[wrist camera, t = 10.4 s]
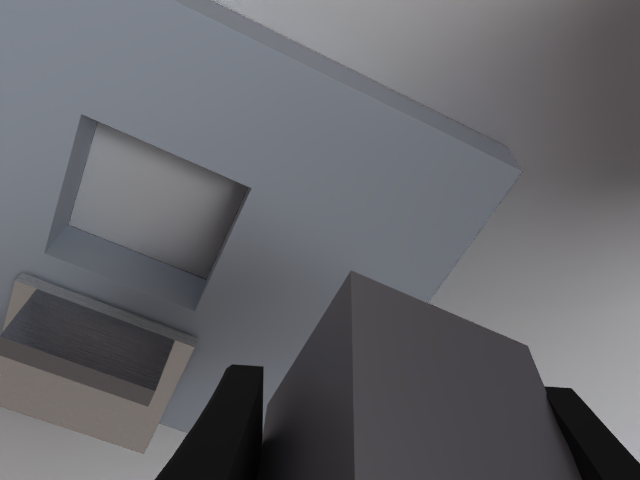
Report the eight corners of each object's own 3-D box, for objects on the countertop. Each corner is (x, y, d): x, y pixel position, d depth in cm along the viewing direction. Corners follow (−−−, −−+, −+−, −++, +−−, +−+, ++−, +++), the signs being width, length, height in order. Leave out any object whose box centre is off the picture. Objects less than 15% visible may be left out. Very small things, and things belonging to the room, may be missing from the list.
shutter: (197, 338, 21) (177, 399, 19) (147, 443, 24) (123, 508, 22) (21, 272, 20) (-26, 327, 18) (-8, 392, 23) (-52, 453, 21)
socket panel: (507, 146, 19) (522, 171, 18) (307, 436, 27) (304, 472, 25) (-5, -107, 16) (-47, -108, 14) (-68, 302, 24) (-100, 334, 22)
